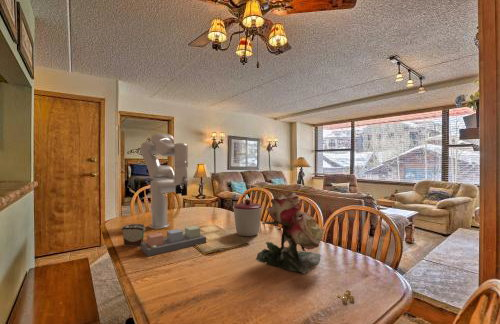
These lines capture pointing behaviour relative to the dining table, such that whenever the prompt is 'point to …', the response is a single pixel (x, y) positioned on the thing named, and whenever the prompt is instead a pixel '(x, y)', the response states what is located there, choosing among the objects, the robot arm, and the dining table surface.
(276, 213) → the rose bouquet
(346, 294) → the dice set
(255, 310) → the dining table surface
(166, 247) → the console
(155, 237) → the button terracotta
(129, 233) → the grey rimmed container
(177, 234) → the button blue
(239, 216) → the canister
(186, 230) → the button sage
